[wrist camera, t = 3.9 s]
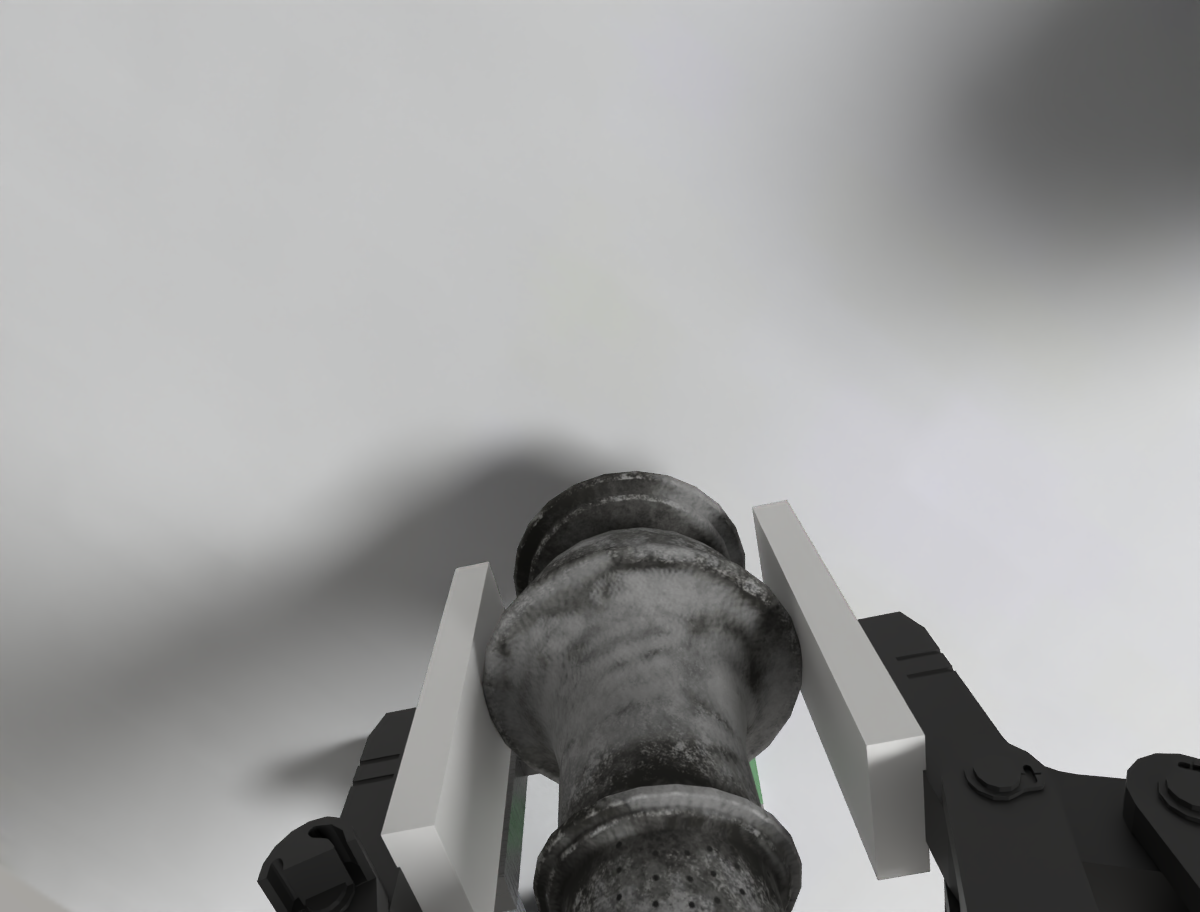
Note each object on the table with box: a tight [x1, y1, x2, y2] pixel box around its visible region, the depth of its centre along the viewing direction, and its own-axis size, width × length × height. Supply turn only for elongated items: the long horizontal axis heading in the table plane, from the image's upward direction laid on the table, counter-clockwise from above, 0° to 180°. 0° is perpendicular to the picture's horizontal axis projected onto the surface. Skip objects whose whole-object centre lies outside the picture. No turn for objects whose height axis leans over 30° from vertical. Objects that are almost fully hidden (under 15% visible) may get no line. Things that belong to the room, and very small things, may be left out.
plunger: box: [494, 750, 539, 912], centre depth 21 cm, size 9×10×5 cm
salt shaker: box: [482, 471, 802, 912], centre depth 11 cm, size 6×6×12 cm
